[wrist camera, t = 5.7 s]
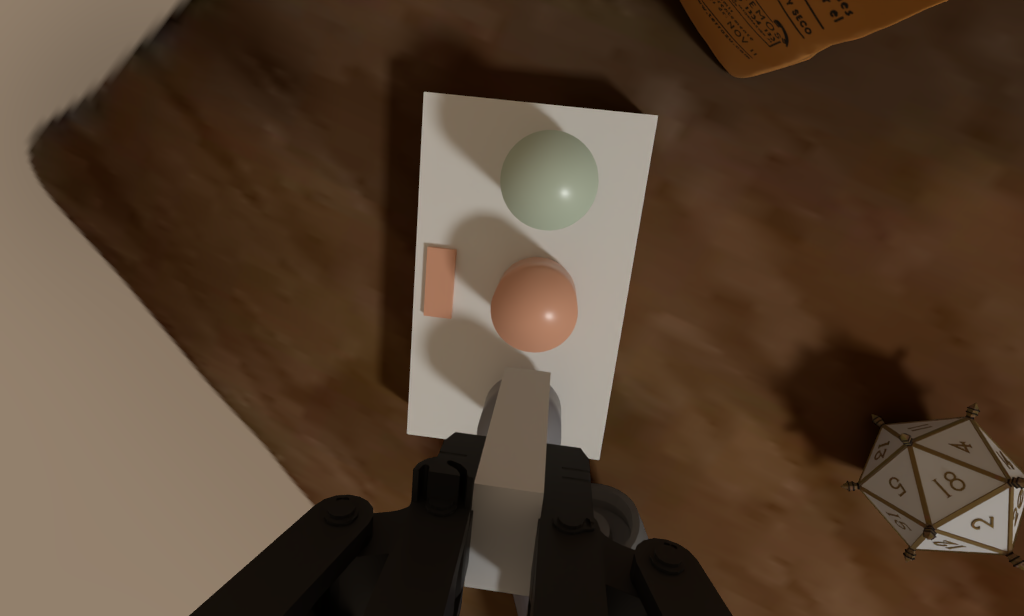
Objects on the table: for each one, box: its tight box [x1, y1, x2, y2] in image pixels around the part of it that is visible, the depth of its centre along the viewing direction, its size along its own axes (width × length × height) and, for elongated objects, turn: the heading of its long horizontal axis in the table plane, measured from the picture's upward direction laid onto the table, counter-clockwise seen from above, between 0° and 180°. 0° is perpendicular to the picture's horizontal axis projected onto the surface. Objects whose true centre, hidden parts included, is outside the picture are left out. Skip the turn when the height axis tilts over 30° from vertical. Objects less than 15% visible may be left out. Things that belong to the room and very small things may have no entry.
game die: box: [841, 403, 1024, 570], centre depth 31 cm, size 9×8×10 cm
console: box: [407, 92, 658, 460], centre depth 32 cm, size 20×12×3 cm, turn 174°
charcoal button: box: [477, 379, 561, 445], centre depth 30 cm, size 4×4×3 cm
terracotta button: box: [491, 257, 578, 353], centre depth 29 cm, size 4×4×3 cm
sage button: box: [500, 130, 599, 231], centre depth 26 cm, size 4×4×3 cm
